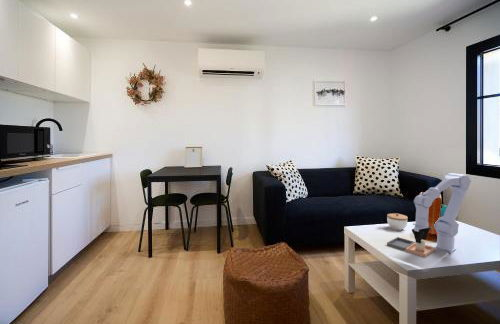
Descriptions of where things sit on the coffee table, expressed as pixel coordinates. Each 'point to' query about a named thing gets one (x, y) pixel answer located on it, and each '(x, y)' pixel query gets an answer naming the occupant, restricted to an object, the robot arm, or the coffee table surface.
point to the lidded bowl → (397, 221)
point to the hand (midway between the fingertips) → (420, 241)
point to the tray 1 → (400, 243)
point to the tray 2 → (427, 251)
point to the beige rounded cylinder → (420, 246)
